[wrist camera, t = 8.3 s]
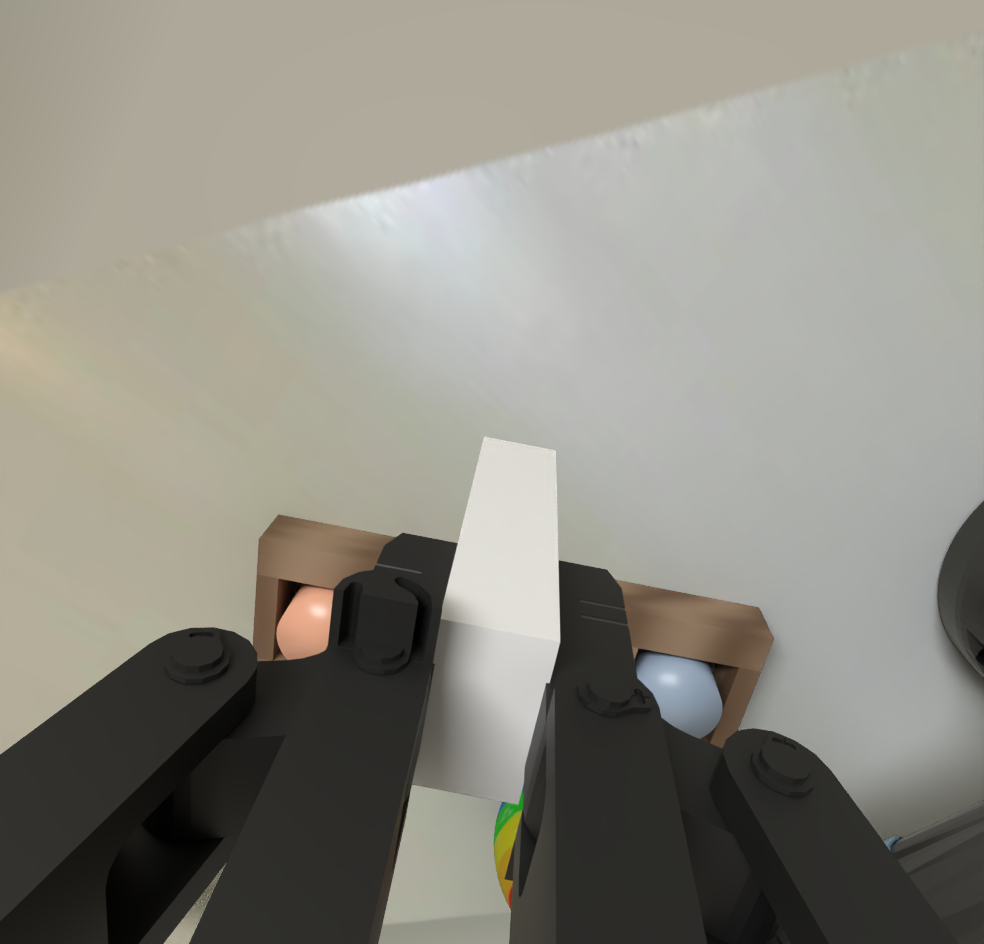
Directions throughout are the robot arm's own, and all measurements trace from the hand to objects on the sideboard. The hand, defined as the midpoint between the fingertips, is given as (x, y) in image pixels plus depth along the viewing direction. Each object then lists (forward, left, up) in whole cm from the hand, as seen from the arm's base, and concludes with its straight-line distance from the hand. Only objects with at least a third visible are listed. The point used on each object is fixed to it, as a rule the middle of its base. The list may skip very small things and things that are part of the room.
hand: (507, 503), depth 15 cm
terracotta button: (+8, +19, -22) cm, 30 cm away
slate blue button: (-12, +19, -22) cm, 32 cm away
